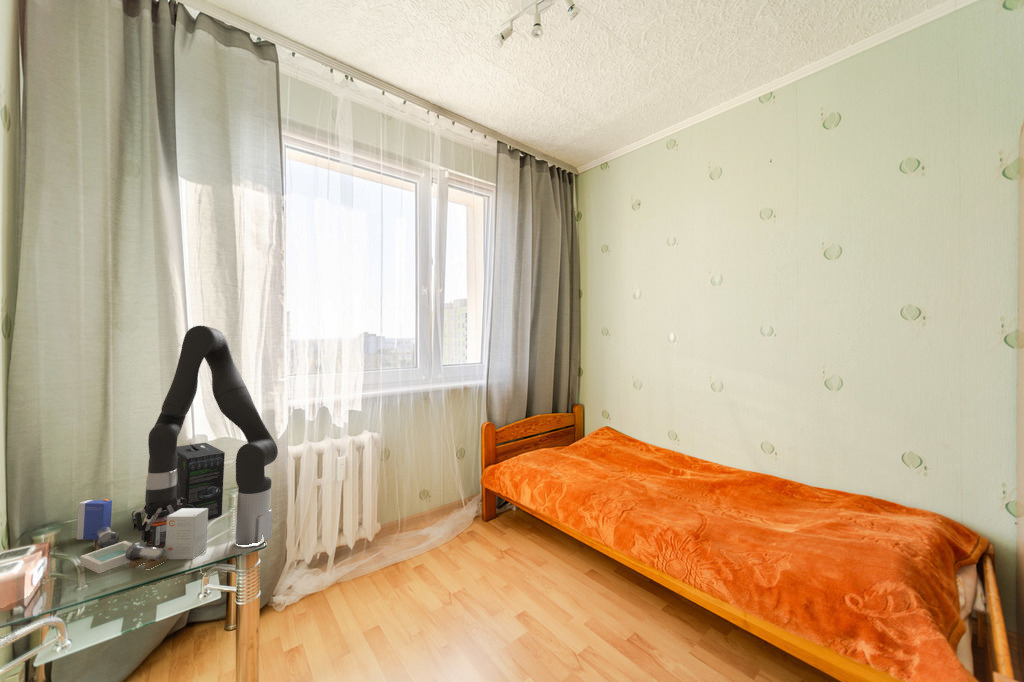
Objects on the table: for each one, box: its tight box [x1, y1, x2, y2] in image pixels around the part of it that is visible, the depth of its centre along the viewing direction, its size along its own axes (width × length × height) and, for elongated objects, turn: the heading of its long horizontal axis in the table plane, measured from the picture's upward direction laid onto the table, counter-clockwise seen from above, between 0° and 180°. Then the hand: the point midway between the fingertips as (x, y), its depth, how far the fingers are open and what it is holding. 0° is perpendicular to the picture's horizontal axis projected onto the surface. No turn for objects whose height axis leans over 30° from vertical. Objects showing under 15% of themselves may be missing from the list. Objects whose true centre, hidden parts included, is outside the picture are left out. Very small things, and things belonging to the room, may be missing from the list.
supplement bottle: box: [145, 509, 170, 548], centre depth 126 cm, size 6×6×11 cm
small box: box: [164, 508, 209, 560], centre depth 121 cm, size 8×6×13 cm
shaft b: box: [92, 527, 120, 551], centre depth 123 cm, size 9×5×6 cm, turn 53°
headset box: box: [173, 442, 226, 520], centre depth 150 cm, size 22×12×26 cm, turn 53°
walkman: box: [76, 498, 113, 540], centre depth 128 cm, size 8×3×12 cm, turn 94°
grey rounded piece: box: [125, 541, 167, 570], centre depth 115 cm, size 9×5×6 cm, turn 83°
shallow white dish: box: [79, 540, 133, 574], centre depth 116 cm, size 10×10×2 cm
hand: (159, 536), depth 126 cm, fingers closed on supplement bottle, 6 cm apart
